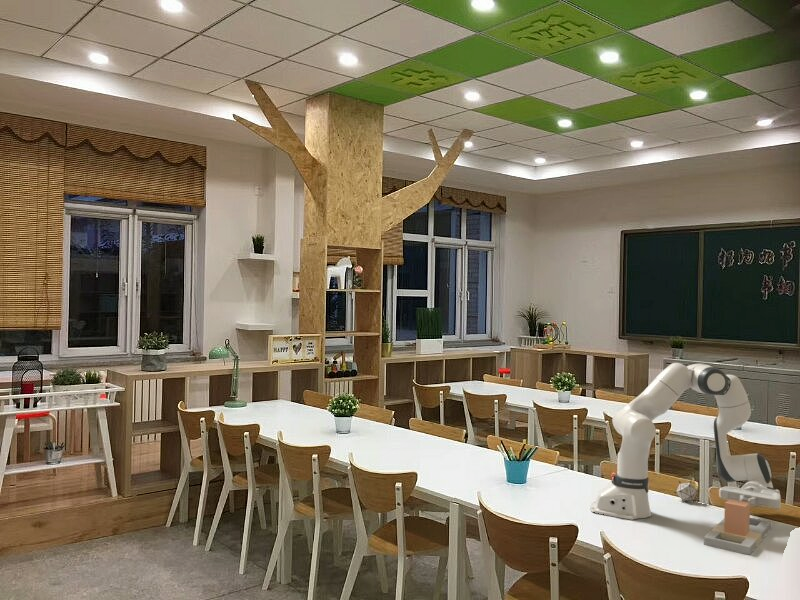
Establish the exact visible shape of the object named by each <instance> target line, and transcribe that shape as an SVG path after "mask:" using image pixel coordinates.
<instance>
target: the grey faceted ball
mask: <svg viewBox="0 0 800 600" xmlns="http://www.w3.org/2000/svg"><path fill="white" fill-rule="evenodd" d="M678 483H679V485H678V487H677V489H676V490H675V491H673V493H675V494H677V495H678V497H679V498H680V500H681V502H682V501H683V502H684V501H685V502H688V501H689V502H690V501H692V502H693V503H694V502H695V498H696V495H697V494H698V493H699V492H700V490H699V489H698V490H697V489H696V487H695V486H694V485H693V484H692V480H691V481H689V482H681V481H680V480H679V481H678Z"/></svg>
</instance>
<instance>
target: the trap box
mask: <svg viewBox="0 0 800 600" xmlns="http://www.w3.org/2000/svg"><path fill="white" fill-rule="evenodd" d="M770 529H771V530H772V521H769V520H765V519H760V518H754V517H750V525H749V532H748V534H747V535H746V536H741V535H737V534H732V533H727V532H724V518H723V519H722V520H720V522H719V523H717V524H716V526H713V528H712V529H711V530H710V531H709V532H708V533H707V534H705V535H704V536H703V545H705V546H709V547H713V548H718V549H722V550H725V551H726V550H727V551H731V552H733V553H735V552H736V553H740V554H744V555H748V554H749V555H748V556H750V555H752V553H753V552H754V551H755V550H756V549H757V546H758V545H760V543H762V541H763V540H764V538H765V537H766V536H767V535H768V533H769V532H770V531H771V530H770ZM769 530H770V531H769ZM766 534H767V535H766ZM765 535H766V536H765ZM762 539H763V540H762ZM761 540H762V541H761ZM753 550H754V551H753ZM752 551H753V552H752Z"/></svg>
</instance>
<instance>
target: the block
mask: <svg viewBox="0 0 800 600" xmlns="http://www.w3.org/2000/svg"><path fill="white" fill-rule="evenodd" d="M750 508H751V506H750V502H745V501H739V500H734V499H729V500H727V499H726V501H725V502H724V515H723V516H724V517H723V519H724V532H727V533H732V534H737V535H741V536H746V535H747V534H748V532H749V525H750V518H751V517H750V514H751V509H750Z"/></svg>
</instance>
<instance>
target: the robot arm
mask: <svg viewBox="0 0 800 600" xmlns="http://www.w3.org/2000/svg"><path fill="white" fill-rule="evenodd" d="M688 389H690V390H693V391H695V392H697V393H700V394H704V395H708V396H714V398H715V400H716V404H717V408H718V415H717V416H716V417H715V418H714V421H713V434H714V436H713V437H714V444H715V454H716V471H717V474H718V477H719V478H721V479H722V480H723V481H725V482H727V483H734V482H738V481H746V482H745V483H744V484H743V485H742V486H741V487H736V486H732V485H731V486H729V485H727V486H726V485H725V486H722V487H720V488H719V489H718V496H719V498H720V499H723V500H726V501H727V500H729V499H734V500H739V501H745V502H750V507H753V508H758V507H764V508H769V509H774V510H781V502H782V501H781V499H782V498H781V496H782V495H781V492H780V490H779V489H777V488H774V485H773V482H772V479H773V470H772V467H771V464H770V462H769V460H768V459H767V458H766V457H765V456H764V455H762V454H761V453H759V452H758V453H747V454H736V455H735V454H734V455H732V454H730V453H729V447H728V438H727V437H728V434H729V433H730V432H731V431H734V430H735V429H737V428H739V427H741V426H742V425H744V424H745V423H747V422H748V421H749V419H750V417H751V415H752V409H751V404H750V401H749V397H748V394H747V391H746V389H745V388H744V385H743V384H742V382H741V380H740V377H737V375H734V374H726V373H725V372H723V371H722V370H721V369H719V368H717V366H716V367H715V366H712V365H709V364H706V363H700V362H693V363H689V364H686V365H685V364H683V363H680V362H672V363H670V364H669V365H667V366H666V367H665V368H664V369H663V370H662V371H660V373H659V374H658V375H657V376H656V377H655V378H654V379H653V380H652V381H651V382H650V383H649V385H648V386H647V387H646V388H645V389H644V390H643V391H642V392H641V393H640V394H638V395H637V397H635V398H634V399H632V401H629V403H627V404H626V405H625V406H624V407H622V408H621V409H619V410H617V411H615V412H614V414H613V415H612V420H611V421H612V425H613V428H614V429H615V431H616V432H617V433H618V434H619V435H620V436H622V439H621V440H622V441H621V445H620V449H619V451H618V453H617V463H616V464H617V465H616V467H617V471H616V472H617V473H616V472H612V473H611V476H610V477H611V483H609V484H608V485H606V486H605V487H603V488H602V489H600V490H599V491H598V493H597V495H596V498H595V501H593V502H591V503H590V505H589V510H590V511H591V512H592V513H593V512H595V513H594V514H598V513H599V515H603V514H604V516H610V517H615V518H620V519H625V520H636V519H645V518H649V517H651V516H652V511H651V507H650V501H649V494H648V493H649V490H650V488H649V487H650V479H649V476H648V472H649V469H648V468H649V467H648V466H649V464H648V463H649V454H650V449H651V445H652V441H653V439H654V438H655V437H656V432H657V429H656V426H655V424H654V422H653V421H654V420H655V419H656V418H658V417H659V416H662V415H664V414H665V413H667V411H669V410H670V408H671V407H672V406H673V405H674V404H675V402H676V401H677V400H678V399H679V398H680V397H681V396H682V395H683V393H684V392H685V391H687V390H688Z"/></svg>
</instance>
